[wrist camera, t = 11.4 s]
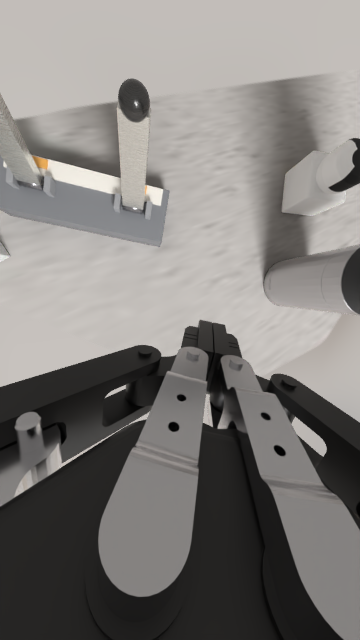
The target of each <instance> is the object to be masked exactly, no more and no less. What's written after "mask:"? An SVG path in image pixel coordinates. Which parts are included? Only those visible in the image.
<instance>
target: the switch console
mask: <svg viewBox="0 0 360 640" xmlns="http://www.w3.org/2000/svg"><path fill="white" fill-rule="evenodd" d="M31 156H32V158H33V160H34V162H35V164H36V166H37V168H38V170H39V172H40V174H41V176H42V178H43V179H44V187H43V191H40V190H36V189H31V188H27V187H23V186H19V185H18V183H17V180H16V178H15V177H14V175H13V174H12V172H11V171H10V169H9V168H8V166H7V165H6V163H5V162H4V160H3V158H2V157H1V155H0V210H2V211H4V212H5V213H7V214H9V215H11V216H15V217H20V218H25V219H30V220H34V221H39V222H44V223H49V224H53V225H58V226H63V227H67V228H72V229H77V230H82V231H86V232H91V233H96V234H101V235H105V236H110V237H115V238H119V239H124V240H129V241H134V242H138V243H143V244H148V245H153V246H157V247H160V245H161V242H162V236H163V229H164V223H165V216H166V210H167V204H168V197H169V190H165V189H162V188H158V187H154V186H150V185H146V186H145V200H144V211H143V215H141V214H137V213H133V212H129V211H124V210H123V204H122V187H121V178H120V177H116V176H112V175H108V174H105V173H101V172H97V171H93V170H89V169H86V168H82V167H78V166H74V165H70V164H67V163H63V162H59V161H55V160H51V159H48V158H44V157H40V156H36V155H32V154H31Z"/></svg>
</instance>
